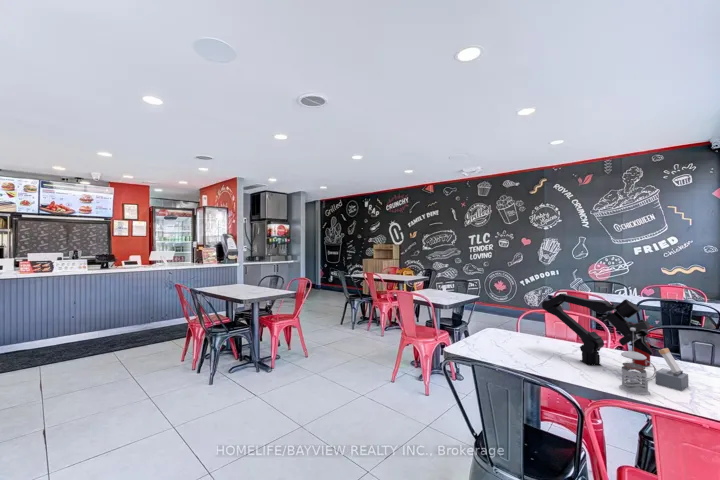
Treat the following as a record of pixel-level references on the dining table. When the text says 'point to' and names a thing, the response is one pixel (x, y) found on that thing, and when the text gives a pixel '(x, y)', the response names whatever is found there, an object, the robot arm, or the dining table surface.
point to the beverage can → (642, 362)
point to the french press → (635, 373)
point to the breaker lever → (670, 360)
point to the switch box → (672, 379)
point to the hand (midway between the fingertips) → (651, 354)
